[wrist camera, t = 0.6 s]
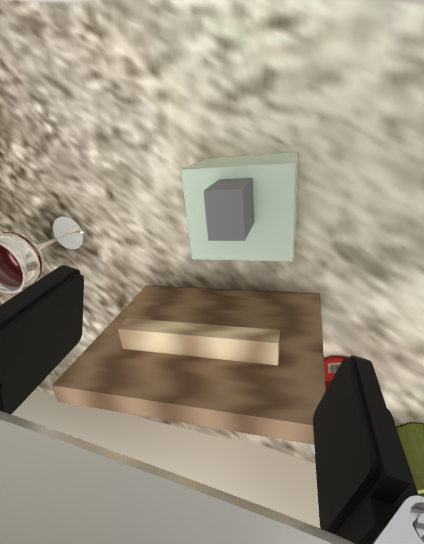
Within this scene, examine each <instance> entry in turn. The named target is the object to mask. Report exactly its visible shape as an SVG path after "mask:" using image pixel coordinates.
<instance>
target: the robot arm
mask: <svg viewBox="0 0 424 544" xmlns="http://www.w3.org/2000/svg"><path fill="white" fill-rule="evenodd" d="M83 292H84V277H83V275H81V274H80V271H79V270H78V269H75V268H71V267H68V266H65V265H62V266H60V267H58V268H57V269H55V270H54V271H52V272H51V273H49V274H48V275H46V276H44V277H43V278H41V279H40V280H38V281H37V282H35V283H34V284H32V285H31V286H29V287H28V288H26V289H25V290H23V291H22V292H20V293H19V294H17V295H15V296H14V297H12V298H11V299H9V300H8V301H6V302H5V303H3V304H2V305H0V544H424V497H422V496H419V494H418V491H417V488H416V485H415V482H414V479H413V476H412V473H411V470H410V467H409V464H408V461H407V458H406V455H405V452H404V449H403V446H402V444H401V441H400V438H399V435H398V432H397V429H396V426H395V423H394V420H393V417H392V414H391V412H390V411H389V410H388V409H387V408H386V405H385V401H384V398H383V395H382V392H381V389H380V386H379V383H378V380H377V377H376V374H375V371H374V368H373V365H372V362H371V361H369V360H366V359H363V358H360V357H357V356H351V357H350V358H349V359H348V358H344V359H343V360H342V362H341V364H340V366H339V368H338V369H337V371H336V373H335V375H334V377H333V379H332V380H331V382H330V384H329V386H328V388H327V390H326V391H325V393H324V395H323V397H322V399H321V401H320V402H319V404H318V406H317V408H316V410H315V412H314V416H313V432H314V446H315V461H316V474H317V488H318V503H319V517H320V527H321V529H320V528H317V527H314V526H312V525H309V524H307V523H304V522H302V521H299V520H297V519H294V518H292V517H289V516H286V515H284V514H281V513H279V512H276V511H274V510H271V509H268V508H266V507H263V506H260V505H258V504H255V503H252V502H250V501H247V500H244V499H241V498H239V497H236V496H233V495H231V494H228V493H225V492H223V491H220V490H217V489H214V488H212V487H209V486H206V485H204V484H201V483H198V482H196V481H193V480H190V479H188V478H185V477H182V476H179V475H177V474H174V473H171V472H169V471H166V470H163V469H160V468H158V467H155V466H152V465H150V464H147V463H144V462H141V461H139V460H136V459H133V458H130V457H128V456H125V455H122V454H119V453H116V452H114V451H111V450H108V449H106V448H103V447H100V446H97V445H95V444H92V443H89V442H86V441H83V440H81V439H78V438H75V437H72V436H70V435H67V434H64V433H61V432H58V431H56V430H53V429H50V428H47V427H45V426H42V425H39V424H36V423H33V422H31V421H28V420H25V419H22V418H19V417H17V416H14V415H11V414H12V413H13V412H14V411H15V410H16V409H17V408H18V407H19V406H20V405H21V403H22V402H23V401H24V400H25V399H26V398H27V397H28V396H29V395H30V394H31V393H32V392H33V391H34V390H35V389H36V387H37V386H38V385H39V384H40V383H41V382H42V381H43V380H44V379H45V378H46V377H47V376H48V375H49V374H50V373H51V371H52V370H53V369H54V368H55V367H56V366H57V365H58V364H59V363H60V362H61V361H62V360H63V359H64V358H65V356H66V355H67V354H68V353H69V352H70V351H71V350H72V349H73V348H74V347H75V346H76V345H77V344H78V342H79V341H80V339H81V336H82V323H83Z"/></svg>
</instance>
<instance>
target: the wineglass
mask: <svg viewBox="0 0 424 544" xmlns="http://www.w3.org/2000/svg"><path fill="white" fill-rule="evenodd" d="M53 232H54V236H55V238H53V239H51V240H48V241H46V242H43V243H41V244H39V245H38V244H37V243H36V242H35V241H33V240H32V239H30V238H29V237H27V236H26V235H24V234H21V233H18V232H3V233H0V291H2V292H5V293H15V292H18V291H19V290H20V289H21V288H22V287H24V286H27V285H30V284H32V283H33V282H35V281H36V280H37V279H38V278H39V277H40V275H41V274H42V272H43V269H44V257H43V253H42V249H44V248H45V247H47V246H49V245H51V244H52V243H54V242H56V241H58V242H59V243H60V244H61V245H62V246H64V247H65V248H68V249H77V248H79V247H80V246H81V245H82V242H83V234H82V230H81V228H80V227H79V225H78V224H77V223H76V222H75V221H74V220H72V219H71V218H68V217H59V218H57V219H56V220H55V221H54V224H53Z"/></svg>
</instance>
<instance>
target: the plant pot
mask: <svg viewBox="0 0 424 544" xmlns="http://www.w3.org/2000/svg"><path fill="white" fill-rule="evenodd" d="M396 429H397V432H398V435H399V438H400V441H401V444H402V446H403V449H404V452H405V455H406V458H407V461H408V464H409V467H410V470H411V473H412V476H413V479H414V482H415V485H416V488H417V491H418V494H419V496H422V497H424V424H418V423H410V424H406V425H405V426H402V427H397V428H396Z"/></svg>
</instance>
